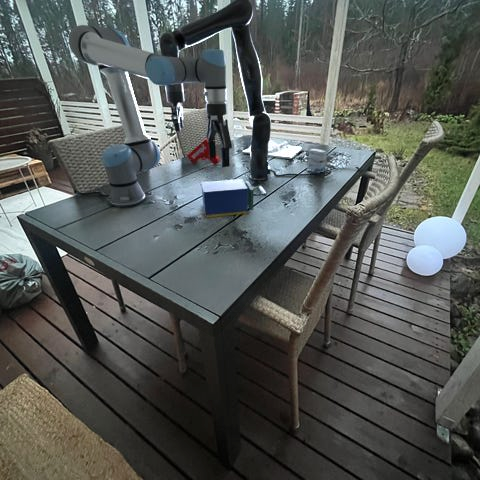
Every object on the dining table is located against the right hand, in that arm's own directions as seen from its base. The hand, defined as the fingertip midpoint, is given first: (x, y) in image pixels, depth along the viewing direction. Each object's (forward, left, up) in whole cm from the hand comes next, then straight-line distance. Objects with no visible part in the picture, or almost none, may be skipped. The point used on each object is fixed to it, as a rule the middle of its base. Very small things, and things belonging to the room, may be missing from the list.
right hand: (179, 129), depth 127 cm
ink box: (-73, -13, -27) cm, 79 cm away
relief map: (-56, -58, -27) cm, 85 cm away
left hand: (-18, +29, -7) cm, 35 cm away
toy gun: (-8, -34, -27) cm, 44 cm away
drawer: (-26, +31, -26) cm, 48 cm away
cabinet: (-20, +32, -27) cm, 46 cm away
